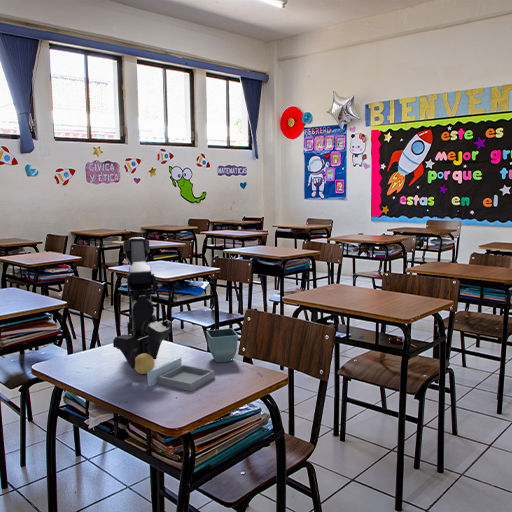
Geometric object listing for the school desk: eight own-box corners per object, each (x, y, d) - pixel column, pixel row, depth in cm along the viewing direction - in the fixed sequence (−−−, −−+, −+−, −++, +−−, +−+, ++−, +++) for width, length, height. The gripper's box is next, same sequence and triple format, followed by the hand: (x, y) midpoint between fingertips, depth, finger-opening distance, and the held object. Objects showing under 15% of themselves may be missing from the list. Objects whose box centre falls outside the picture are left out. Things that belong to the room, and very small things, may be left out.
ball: (129, 375, 146) (128, 355, 145) (143, 368, 151) (142, 349, 150) (145, 378, 143) (144, 358, 142) (158, 371, 148) (158, 352, 147)
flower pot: (211, 365, 153) (210, 337, 152) (206, 357, 161) (205, 330, 160) (239, 362, 155) (238, 335, 154) (232, 354, 164) (232, 328, 163)
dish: (158, 384, 138) (157, 376, 138) (183, 371, 148) (183, 364, 148) (191, 391, 133) (190, 383, 132) (214, 377, 143) (214, 370, 142)
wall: (147, 385, 137) (147, 371, 137) (179, 370, 149) (178, 357, 149) (150, 386, 137) (149, 372, 136) (181, 370, 149) (181, 357, 148)
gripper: (140, 322, 133) (143, 378, 135) (183, 308, 149) (185, 358, 151) (110, 318, 138) (113, 372, 140) (154, 305, 154) (156, 353, 156)
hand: (144, 363), depth 147 cm, fingers open, 9 cm apart
